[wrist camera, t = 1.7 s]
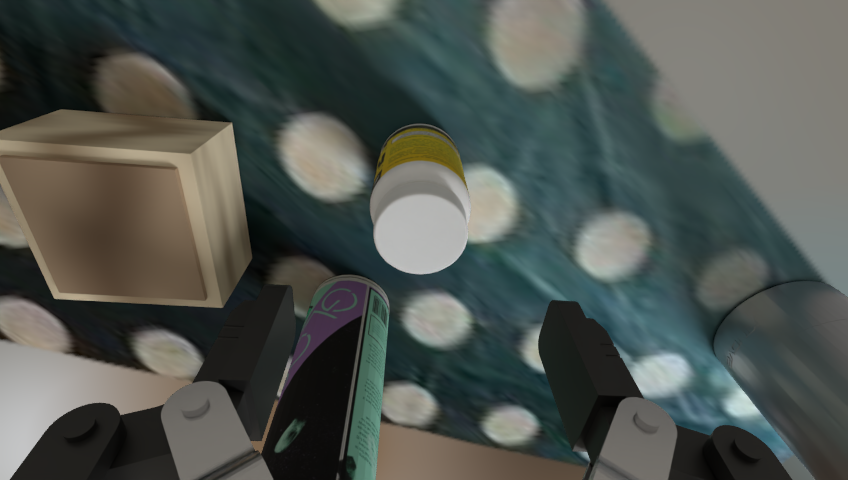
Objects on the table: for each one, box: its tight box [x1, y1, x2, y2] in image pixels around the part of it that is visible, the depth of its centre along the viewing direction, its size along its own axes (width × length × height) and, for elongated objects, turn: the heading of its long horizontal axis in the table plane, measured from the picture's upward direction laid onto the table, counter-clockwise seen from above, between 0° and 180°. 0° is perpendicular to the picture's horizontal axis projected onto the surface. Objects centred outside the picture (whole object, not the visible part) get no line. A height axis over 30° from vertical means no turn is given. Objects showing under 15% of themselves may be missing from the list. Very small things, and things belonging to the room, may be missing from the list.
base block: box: [0, 109, 252, 308], centre depth 23 cm, size 9×9×5 cm
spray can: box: [261, 275, 389, 480], centre depth 22 cm, size 6×6×20 cm
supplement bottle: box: [370, 124, 471, 274], centre depth 21 cm, size 5×5×8 cm
